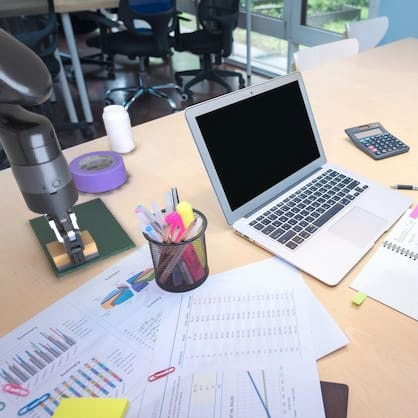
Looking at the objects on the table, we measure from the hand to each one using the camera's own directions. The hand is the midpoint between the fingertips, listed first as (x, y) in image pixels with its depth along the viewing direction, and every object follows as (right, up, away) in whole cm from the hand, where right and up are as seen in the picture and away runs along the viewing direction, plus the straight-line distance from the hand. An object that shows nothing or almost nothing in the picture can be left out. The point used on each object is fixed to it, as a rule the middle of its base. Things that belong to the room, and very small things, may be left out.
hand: (75, 255), depth 74 cm
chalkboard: (-3, +4, +6) cm, 8 cm away
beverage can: (-8, +25, +35) cm, 44 cm away
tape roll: (-7, +16, +22) cm, 28 cm away
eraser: (0, 0, 0) cm, 1 cm away
